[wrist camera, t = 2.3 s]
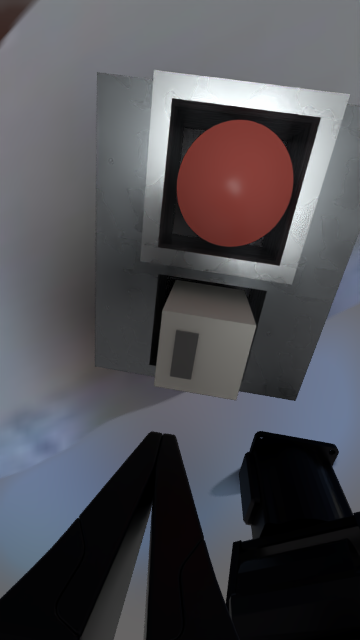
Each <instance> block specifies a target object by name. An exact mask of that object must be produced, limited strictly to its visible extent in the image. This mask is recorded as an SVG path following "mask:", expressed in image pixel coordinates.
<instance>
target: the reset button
mask: <svg viewBox="0 0 360 640" xmlns="http://www.w3.org/2000/svg"><path fill="white" fill-rule="evenodd" d="M292 189H293V168H292V162H291V159H290V156H289V153H288V151H287V149H286V147H285V145H284V144H283V142H282V141H281V140H280V139H279V137H278V136H277V135H276V134H275V133H274V132H272V131H271V130H270V129H269V128H267V127H265V126H263V125H261V124H259V123H256V122H253V121H248V120H231V121H226V122H223V123H220V124H218V125H215V126H213V127H211V128H210V129H208V130H206V131H205V132H204V133H203V134H201V135H200V136H199V137H198V138H197V139H196V140H195V141H194V142H193V144H192V145H191V146H190V148H189V149H188V151H187V153H186V154H185V156H184V158H183V161H182V163H181V166H180V169H179V173H178V179H177V198H178V203H179V207H180V210H181V213H182V215H183V217H184V219H185V221H186V222H187V224H188V225H189V227H190V228H191V229H192V230H193V231H194V232H195V233H196V234H197V235H198V236H200V237H201V238H202V239H204V240H206V241H208V242H210V243H213V244H215V245H220V246H226V247H235V246H242V245H246V244H249V243H252V242H254V241H256V240H258V239H260V238H261V237H263V236H264V235H266V234H267V233H268V232H269V231H270V230H271V229H272V228H273V227H274V226H275V225H276V224H277V223H278V222H279V220H280V219H281V217H282V216H283V214H284V213H285V211H286V209H287V206H288V204H289V201H290V198H291V194H292Z"/></svg>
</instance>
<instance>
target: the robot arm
mask: <svg viewBox="0 0 360 640" xmlns="http://www.w3.org/2000/svg"><path fill="white" fill-rule="evenodd" d="M262 437H263V438H262ZM330 450H331V451H330ZM338 453H339V451H338V449H337V447H336V446H335V445H334V444H331V443H325V442H320V441H314V440H308V439H303V438H297V437H291V436H286V435H280V434H274V433H269V432H263V431H259V432H257V433H256V434H255V436H254V439H253V442H252V445H251V448H250V451H249V452H247V453H246V454H245V456H244V459H243V463H242V466H241V469H240V472H239V479H240V490H241V500H242V511H243V520H244V522H245V523H246V524H247V525H251V528H252V537H253V539H252V540H248V541H243V542H242V541H241V540H240V541H237V542H233V548H232V556H231V564H230V574H229V581H228V590H227V598H226V604H225V601H224V599H223V596H222V593H221V591H220V588H219V585H218V582H217V580H216V577H215V573H214V570H213V567H212V564H211V560H210V557H209V553H208V550H207V547H206V543H205V541H204V536H203V532H202V529H201V525H200V522H199V518H198V515H197V511H196V507H195V504H194V500H193V496H192V493H191V489H190V486H189V482H188V478H187V475H186V471H185V468H184V464H183V460H182V457H181V453H180V450H179V446H178V442H177V439H176V436H175V435H171V434H163V435H162V433H158V432H150V433H149V434H148V435H147V436H146V437H145V438H144V440H143V441H142V442H141V443H140V445H139V446H138V447H137V448H136V449H135V450H134V452H133V453H132V454H131V455H130V456H129V457H128V459H127V460H126V461H125V462H124V463H123V464H122V466H121V467H120V468H119V469H118V470H117V472H116V473H115V474H114V475H113V476H112V478H111V479H110V480H109V481H108V482H107V483H106V485H105V486H104V487H103V488H102V489H101V491H100V492H99V493H98V494H97V495H96V497H95V498H94V499H93V500H92V501H91V502H90V504H89V505H88V506H87V507H86V508H85V510H84V511H83V512H82V513H81V514H80V516H79V518H77V519H76V520H75V521H74V522H73V524H72V525H71V526H70V527H69V528H68V530H67V531H66V532H65V533H64V534H63V535H62V536H61V537H60V539H59V540H58V541H57V542H56V543H55V544H54V545H53V546H52V548H51V549H50V550H49V551H48V552H47V553H46V554H45V555H44V556H43V557H42V558H41V559H40V560H39V561H38V562H37V563H36V564H35V565H34V566H33V567H32V568H31V569H30V570H29V571H28V572H27V573H26V574H25V575H24V576H23V577H22V578H21V579H20V580H19V581H18V582H17V583H16V584H15V585H14V586H13V587H12V588H11V589H10V590H9V591H8V592H7V593H6V594H5V595H4V596H3V597H2V598H1V599H0V640H113V639H114V636H115V632H116V629H117V625H118V622H119V618H120V615H121V611H122V608H123V605H124V601H125V598H126V594H127V591H128V587H129V584H130V580H131V577H132V574H133V570H134V566H135V563H136V560H137V556H138V553H139V549H140V546H141V543H142V539H143V536H144V532H145V528H146V525H147V522H148V518H149V514H150V511H151V507H152V515H151V531H150V547H149V563H148V578H147V593H146V609H145V626H144V640H360V512H356V513H352V511H351V508H350V506H349V504H348V502H347V499H346V497H345V495H344V493H343V490H342V488H341V486H340V484H339V481H338V479H337V477H336V475H335V472H334V470H333V468H332V465H333V463H334V461H335V459H336V457H337V455H338ZM353 514H354V515H353Z"/></svg>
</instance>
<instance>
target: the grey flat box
mask: <svg viewBox="0 0 360 640" xmlns="http://www.w3.org/2000/svg"><path fill="white" fill-rule="evenodd" d="M349 96H350V94H342V93H334V92H326V91H318V90H310V89H302V88H294V87H286V86H278V85H270V84H262V83H254V82H246V81H238V80H230V79H222V78H214V77H206V76H198V75H190V74H182V73H174V72H166V71H158V70H154V77H153V79H146V78H138V77H130V76H122V75H114V74H106V73H98V72H97V144H96V298H95V366H96V367H102V368H108V369H114V370H119V371H125V372H131V373H137V374H143V375H148V376H154V377H155V372H156V363H157V354H158V346H159V337H160V328H161V319H162V310H163V308H164V300H165V291H166V283H167V275H169V276H175V277H181V278H188V279H194V280H201V281H207V282H213V283H220V284H226V285H233V286H239V287H245V288H252V289H251V293H250V297H249V301H248V302H249V305H250V308H251V311H252V314H253V317H254V320H255V323H256V329H255V332H254V336H253V340H252V344H251V347H250V351H249V355H248V358H247V362H246V366H245V370H244V373H243V377H242V381H241V384H240V388H239V391H241V392H247V393H253V394H259V395H265V396H270V397H276V398H282V399H288V400H294V401H295V400H296V398H297V395H298V392H299V390H300V387H301V384H302V382H303V379H304V377H305V374H306V371H307V369H308V366H309V363H310V361H311V358H312V356H313V353H314V350H315V348H316V345H317V342H318V340H319V337H320V334H321V332H322V329H323V327H324V324H325V321H326V319H327V316H328V313H329V311H330V308H331V305H332V303H333V300H334V297H335V295H336V292H337V290H338V287H339V284H340V282H341V279H342V276H343V274H344V271H345V268H346V266H347V263H348V261H349V258H350V255H351V253H352V250H353V247H354V245H355V242H356V239H357V237H358V234H359V231H360V106H359V105H351V104H347V103H348V99H349ZM231 120H248V121H253V122H256V123H259V124H261V125H263V126H265V127H267V128H269V129H270V130H271V131H272V132H274V133H275V134H276V135H277V136H278V137H279V139H280V140H283V141H288V143H287V147H286V149H287V151H288V153H289V156H290V159H291V162H292V168H293V189H292V194H291V198H290V201H289V204H288V206H287V209H286V211H285V213H284V214H283V216H282V217H281V219H280V220H279V222H278V223H277V224H276V225H275V226H274V227H273V228H272V229H271V230H270V231H269V232H268V233H267V234H266V235H265V236H264V240H263V244H262V247H258V246H252V245H242V246H235V247H226V246H220V245H215V244H213V243H210V242H208V241H206V240H204V239H202V238H198V237H192V236H185V235H178V234H172V230H173V221H174V213H175V204H176V195H177V179H178V173H179V169H180V160H181V152H182V143H183V134H184V127H186V128H193V129H201V130H208V129H210V128H211V127H213V126H215V125H218V124H220V123H223V122H226V121H231Z"/></svg>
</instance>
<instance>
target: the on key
mask: <svg viewBox="0 0 360 640" xmlns="http://www.w3.org/2000/svg"><path fill="white" fill-rule="evenodd" d="M255 329H256V323H255V320H254V317H253V314H252V311H251V308H250V305H249V302H248V299H247V296H246V293H245V290H238V289H232V288H226V287H219V286H213V285H207V284H200V283H194V282H187V281H181V280H175V283H174V285H173V287H172V290H171V292H170V294H169V297H168V299H167V301H166V303H165V306H164V308H163V310H162V319H161V328H160V337H159V346H158V354H157V363H156V372H155V381H154V386H156V387H162V388H167V389H173V390H179V391H185V392H190V393H197V394H202V395H208V396H214V397H219V398H225V399H231V400H236V399H237V396H238V392H239V388H240V384H241V381H242V377H243V373H244V370H245V366H246V362H247V358H248V355H249V351H250V347H251V344H252V340H253V336H254V332H255Z"/></svg>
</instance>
